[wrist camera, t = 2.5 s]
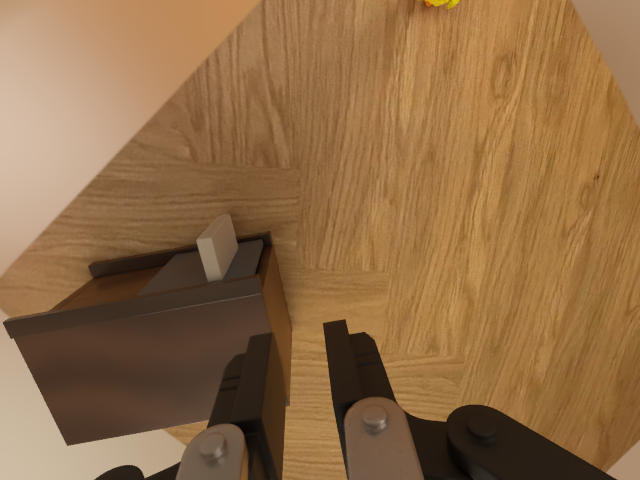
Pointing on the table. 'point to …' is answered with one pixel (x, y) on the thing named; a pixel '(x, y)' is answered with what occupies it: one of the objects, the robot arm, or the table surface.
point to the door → (209, 260)
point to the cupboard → (148, 344)
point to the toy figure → (441, 3)
